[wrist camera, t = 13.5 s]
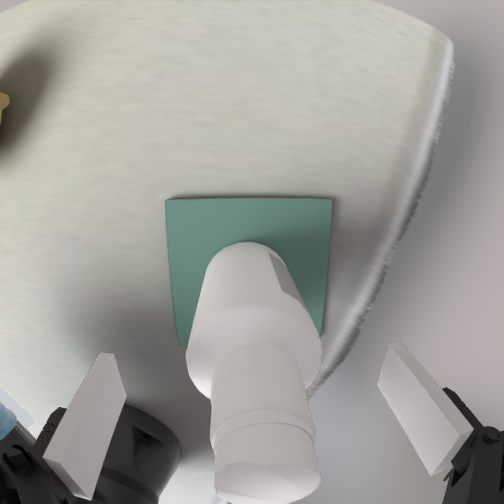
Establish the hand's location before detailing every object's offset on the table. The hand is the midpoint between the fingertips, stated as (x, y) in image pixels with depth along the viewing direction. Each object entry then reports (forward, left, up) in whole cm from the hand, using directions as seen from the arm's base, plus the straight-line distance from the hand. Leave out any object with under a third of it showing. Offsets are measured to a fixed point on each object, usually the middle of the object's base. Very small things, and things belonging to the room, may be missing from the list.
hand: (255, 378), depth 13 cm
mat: (0, 0, -13) cm, 13 cm away
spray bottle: (0, 0, -12) cm, 12 cm away
